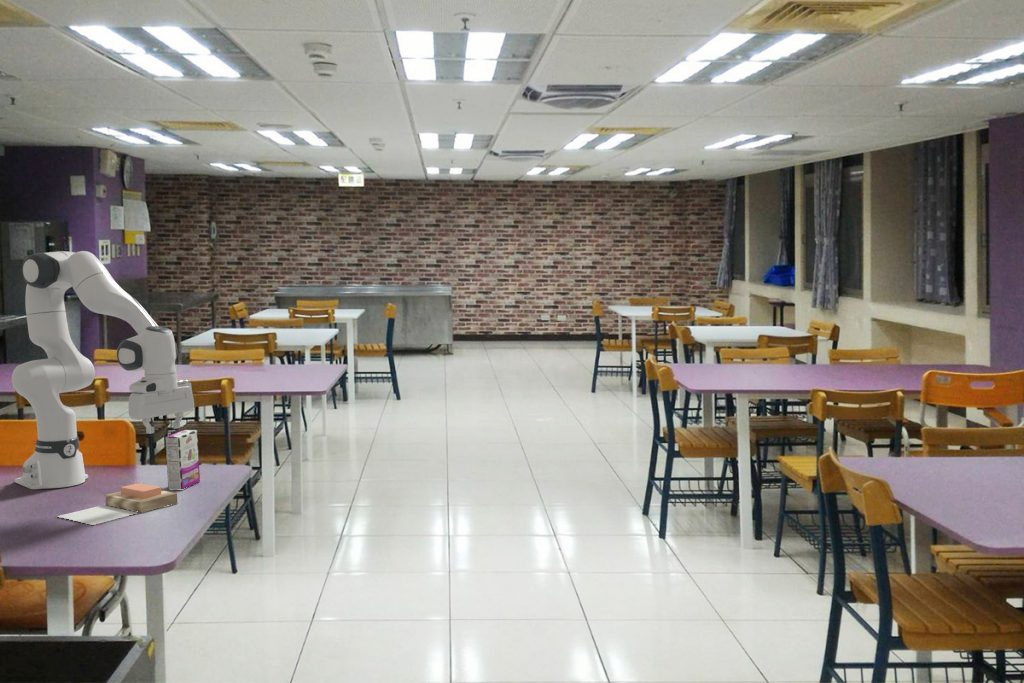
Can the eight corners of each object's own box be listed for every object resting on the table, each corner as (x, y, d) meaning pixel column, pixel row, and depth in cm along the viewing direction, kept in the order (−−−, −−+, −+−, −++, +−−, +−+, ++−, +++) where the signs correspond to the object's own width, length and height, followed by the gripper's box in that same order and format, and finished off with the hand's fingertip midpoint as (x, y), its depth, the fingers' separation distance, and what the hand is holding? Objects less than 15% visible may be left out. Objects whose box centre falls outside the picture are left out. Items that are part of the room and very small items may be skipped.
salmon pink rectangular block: (121, 494, 295) (120, 487, 295) (139, 489, 300) (138, 483, 300) (143, 498, 289) (143, 491, 289) (161, 494, 294) (161, 487, 294)
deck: (105, 505, 294) (105, 495, 294) (141, 496, 304) (141, 486, 304) (141, 513, 285) (140, 502, 285) (177, 503, 295) (177, 493, 295)
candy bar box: (185, 481, 323) (183, 429, 321) (200, 482, 322) (198, 430, 320) (166, 490, 312) (164, 436, 310) (182, 491, 311) (179, 436, 309)
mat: (56, 517, 282) (56, 516, 282) (102, 506, 294) (102, 505, 294) (92, 525, 273) (92, 524, 273) (138, 514, 285) (138, 512, 285)
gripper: (183, 378, 309) (186, 424, 310) (123, 386, 292) (126, 435, 293) (197, 379, 305) (200, 426, 307) (138, 388, 289) (140, 437, 290)
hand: (163, 430), depth 300 cm, fingers open, 8 cm apart
